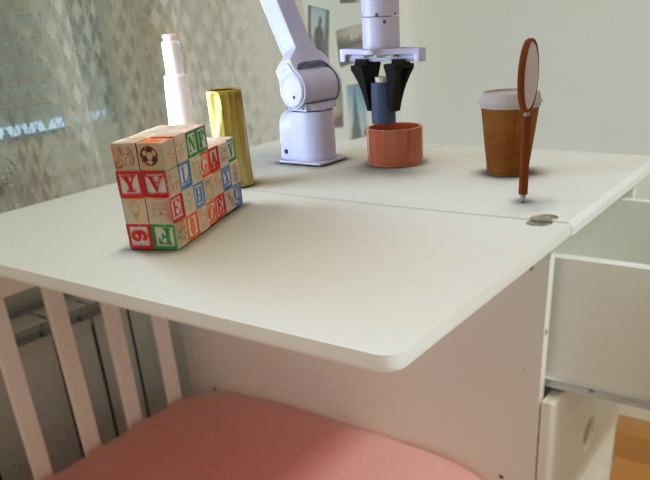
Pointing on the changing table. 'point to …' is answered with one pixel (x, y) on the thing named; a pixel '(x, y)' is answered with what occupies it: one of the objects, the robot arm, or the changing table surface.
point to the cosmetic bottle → (176, 84)
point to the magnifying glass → (526, 105)
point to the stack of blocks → (174, 183)
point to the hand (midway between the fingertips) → (383, 110)
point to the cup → (395, 145)
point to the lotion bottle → (381, 102)
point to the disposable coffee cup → (504, 129)
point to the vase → (231, 125)
